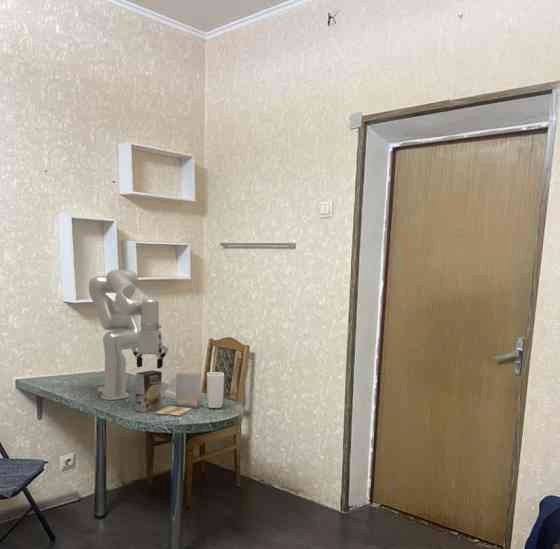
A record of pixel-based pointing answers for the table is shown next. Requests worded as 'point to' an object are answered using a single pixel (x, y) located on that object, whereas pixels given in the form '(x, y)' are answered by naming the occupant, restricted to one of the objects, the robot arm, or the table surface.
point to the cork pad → (172, 411)
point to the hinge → (171, 389)
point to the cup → (215, 389)
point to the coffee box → (148, 391)
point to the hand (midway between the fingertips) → (149, 367)
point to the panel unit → (188, 390)
